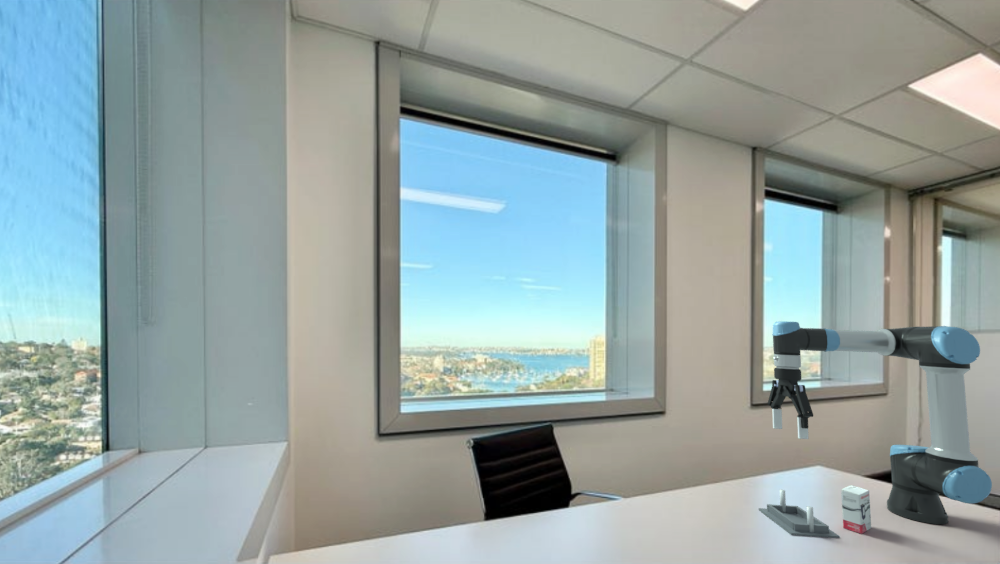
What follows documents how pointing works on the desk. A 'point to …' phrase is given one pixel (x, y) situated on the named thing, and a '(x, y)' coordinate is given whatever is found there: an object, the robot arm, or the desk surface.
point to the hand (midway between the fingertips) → (789, 433)
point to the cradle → (797, 519)
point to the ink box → (856, 509)
